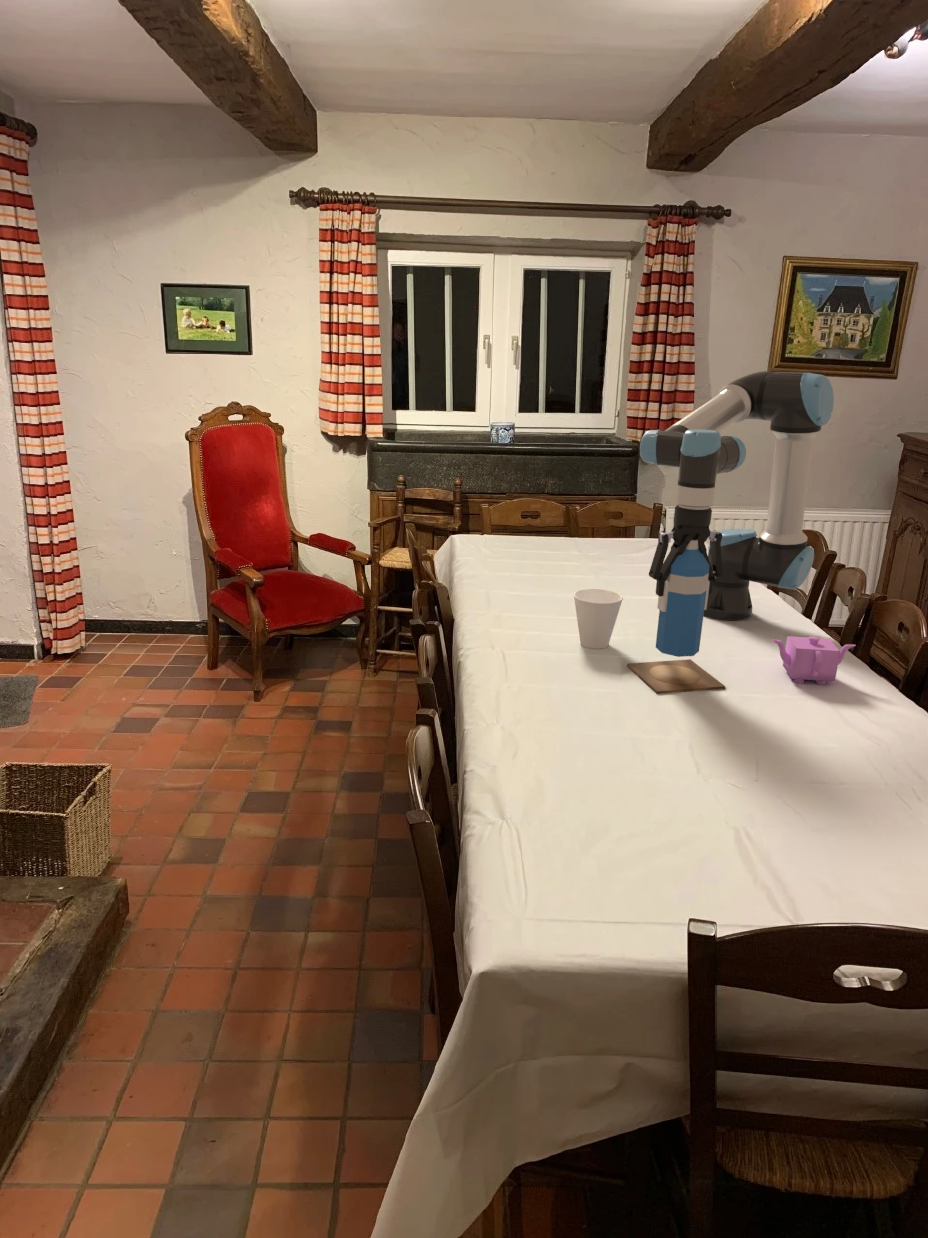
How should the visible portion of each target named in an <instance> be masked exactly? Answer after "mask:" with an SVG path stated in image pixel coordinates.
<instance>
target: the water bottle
mask: <svg viewBox="0 0 928 1238" xmlns="http://www.w3.org/2000/svg"><path fill="white" fill-rule="evenodd" d="M677 549H678V548H677ZM709 567H710V565H709V564H708V562H707V560H706V559H705V557H704V555H703V554H702V553H701V551H700V549H699V545H698V540H691V541H690V543H689V544H688V545H687V547H686V549H685V550H684V552H683V554H682V555H679V556H678V557H677V558H676V559H675V561H674V562H673V564H672V565H671V568H670V574H669V576H668V578H667V580H666V581H667V582H669V590H668V599H667V608H666V612H662V611H661V610H659V609H658V610H659V612H658V621H657V631H656V638H655V639H656V640H655V649H657V650H658V651H659V652H660V653H661V654H665V655H669V656H673V657H677V658H679V657H681V658H682V657H695V655H696V654H697V653H699V652H700V646H701V637H702V631H703V623H704V607H705V599H706V591H707V583H708V575H709Z"/></svg>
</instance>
